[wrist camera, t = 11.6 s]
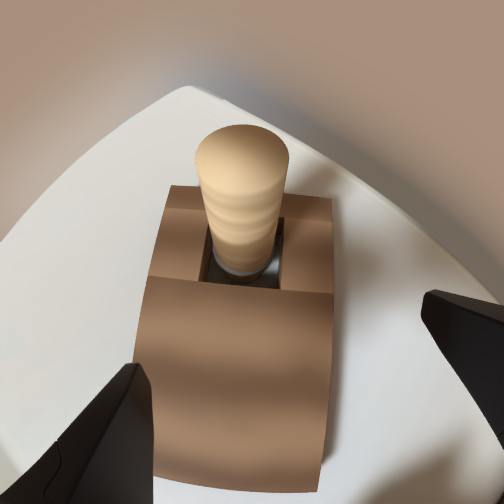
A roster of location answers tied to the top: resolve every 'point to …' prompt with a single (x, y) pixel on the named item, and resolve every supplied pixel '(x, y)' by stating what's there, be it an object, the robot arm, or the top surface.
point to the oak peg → (242, 196)
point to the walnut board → (239, 353)
